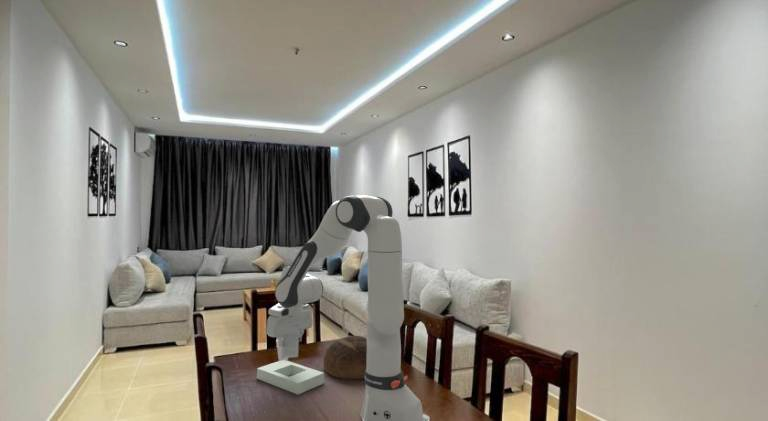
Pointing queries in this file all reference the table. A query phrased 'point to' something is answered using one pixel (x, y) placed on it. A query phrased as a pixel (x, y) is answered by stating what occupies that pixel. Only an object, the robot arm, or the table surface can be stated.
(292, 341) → the skincare box
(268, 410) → the table surface
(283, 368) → the white rectangular holder
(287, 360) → the smoothie
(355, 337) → the bread
